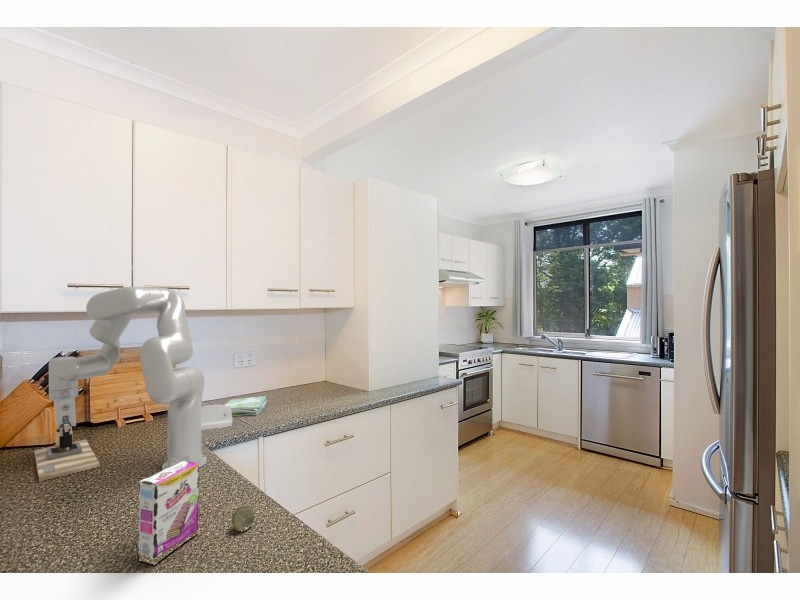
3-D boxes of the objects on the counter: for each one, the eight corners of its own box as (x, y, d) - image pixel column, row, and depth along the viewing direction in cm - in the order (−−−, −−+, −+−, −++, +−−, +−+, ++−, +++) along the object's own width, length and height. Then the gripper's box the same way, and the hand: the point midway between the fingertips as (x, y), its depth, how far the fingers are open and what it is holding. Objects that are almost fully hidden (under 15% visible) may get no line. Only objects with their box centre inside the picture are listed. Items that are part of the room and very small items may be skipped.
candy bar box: (156, 567, 76) (155, 484, 76) (136, 562, 78) (136, 481, 78) (200, 534, 87) (199, 461, 87) (182, 530, 88) (182, 459, 88)
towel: (217, 418, 174) (216, 407, 174) (230, 406, 195) (230, 396, 195) (258, 416, 177) (258, 405, 177) (267, 404, 198) (267, 394, 198)
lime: (255, 523, 91) (255, 502, 91) (248, 535, 86) (248, 513, 86) (236, 523, 91) (236, 502, 91) (228, 536, 86) (228, 513, 86)
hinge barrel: (68, 454, 129) (67, 433, 129) (52, 455, 128) (52, 434, 128) (75, 449, 133) (75, 429, 133) (60, 450, 132) (60, 430, 132)
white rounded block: (187, 431, 156) (188, 406, 159) (189, 432, 160) (190, 407, 163) (232, 426, 162) (232, 402, 165) (233, 426, 166) (233, 403, 170)
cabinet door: (99, 467, 123) (99, 458, 123) (39, 482, 113) (39, 472, 113) (86, 443, 144) (86, 435, 144) (34, 454, 134) (34, 445, 134)
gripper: (81, 395, 127) (82, 447, 127) (75, 387, 140) (75, 434, 139) (50, 399, 122) (51, 453, 122) (47, 391, 134) (47, 440, 134)
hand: (64, 443), depth 131 cm, fingers open, 9 cm apart
